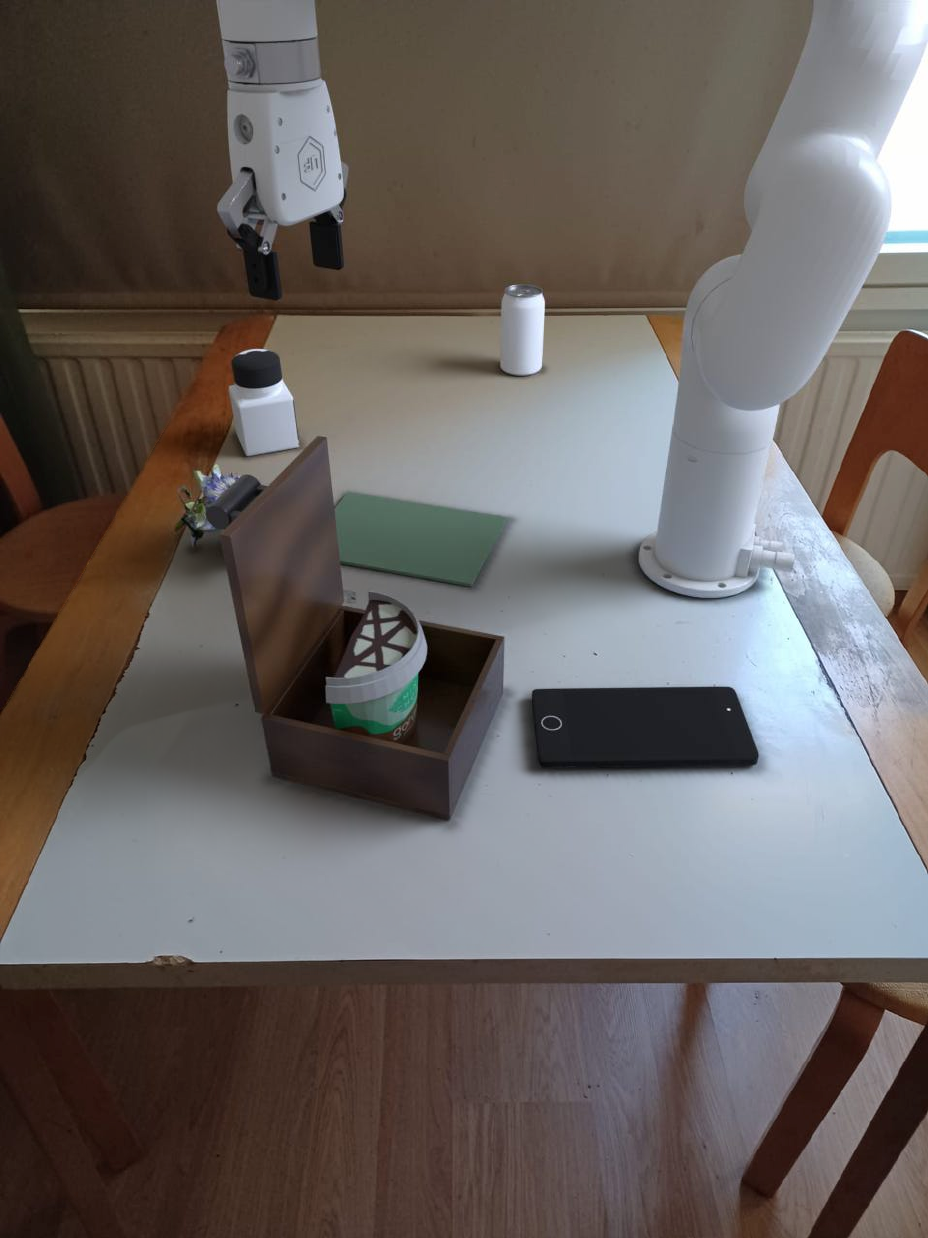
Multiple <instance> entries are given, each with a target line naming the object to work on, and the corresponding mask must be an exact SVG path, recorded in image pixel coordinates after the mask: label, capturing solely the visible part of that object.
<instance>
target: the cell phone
mask: <svg viewBox="0 0 928 1238" xmlns="http://www.w3.org/2000/svg"><path fill="white" fill-rule="evenodd" d="M531 710H532V718H533V719H532V720H533V729H534V738H535V747H536V748H535V749H536V757H537V763H538V765H539V767H540V768H542V769H551V768H617V767H619V768H620V767H621V768H622V767H626V768H627V767H691V766H692V767H694V766H695V767H697V766H698V767H699V766H701V767H702V766H705V767H706V766H755V765H757V764H758V761H759V756H760V755H759V751H758V748H757V745H756V742H755V740H754V737H753V733H752V732H751V729H750V725H749V723H748V721H747V718H746V715H745V713H744V709H743V707H742V704H741V702H740V699H739V696H738V694H737V692H736V690H735V689H734V688H733V687H731V686H650V687H648V686H647V687H643V686H642V687H637V686H636V687H570V688H569V687H567V688H566V687H563V688H562V687H561V688H560V687H559V688H557V687H556V688H535V689H532V692H531Z"/></svg>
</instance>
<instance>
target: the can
mask: <svg viewBox="0 0 928 1238" xmlns="http://www.w3.org/2000/svg"><path fill="white" fill-rule="evenodd" d="M545 301H546V300H545V297H544V295H543V288H541V287H540V286H537V285H534V284H524V283H522V284H513V285H509V286H506V287H505V288H504V293H503V296H502V298H501V305H500V344H499V345H500V346H499V350H500V353H499V356H500V357H499V367H500V369H501V370H502V371H503V372H504V373H506V374H507V375H511V376H516V377H528V376H533V375H535V374H537V373H539V372H540V371H541V369H542V367H543V354H544V353H543V352H544V334H545V333H544V330H545V312H546V311H545V309H546V302H545Z"/></svg>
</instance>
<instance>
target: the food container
mask: <svg viewBox="0 0 928 1238" xmlns="http://www.w3.org/2000/svg"><path fill="white" fill-rule="evenodd" d="M367 594H368V595H367V596H368V598H367V599H368V603H367V605H366V608H365V610H366V611H365V613H364V615H363V617H362V619H361V621H360V623H359V624H358V626H357V628H356V629H355V631H354V632H353V634H352V636H351V638H350V640H349V643H348V645H347V648H346V651H345V653H344V655H343V658H342V660H341V662H340V665H339V667H338V669H337V671H336V673H335V675H334V677H333V678H330V677H326V684H327V685H326V703H330V705H331V710H332V715H333V720H334V725H335V729H336V730H341V731H345V732H350V733H354V734H358V735H363V736H367V737H371V738H376V739H380V740H385V741H389V742H393V743H398V744H402V745H406V744H407V743H408V741H409V740H410V739H411V738H412V736H413V734H414V732H415V728H416V715H417V691H418V672H419V671H420V670H421V668H422V666H423V664H424V662H425V660H426V655H427V644H426V640H425V636H424V633H423V630H422V627H421V624H420V623H419V621H418V620H419V619H418V617H416V615H415V613H414V612H413V610H412V609H411V608H410V607H409V606H408V605H407V604H406V603H404V602H403V601H401V600H399V599H398V598H396V597H393V596H391V595H389V594H385V593H382V592H378V591H372V590H368V591H367Z"/></svg>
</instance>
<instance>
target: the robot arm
mask: <svg viewBox="0 0 928 1238" xmlns="http://www.w3.org/2000/svg"><path fill="white" fill-rule="evenodd" d="M215 1H216V8H217V14H218V15H217V16H218V21H219V28H220V35H221V39H222V40H221V42H222V43H221V45H222V49H223V57H224V61H223V65H224V69H225V71H226V77H227V82H228V89H227V95H226V97H227V99H226V101H227V103H226V107H227V108H226V109H227V111H226V112H227V115H226V116H227V137H228V150H229V151H228V153H229V161H230V162H229V163H230V171H231V178H232V184H231V185H230V186H229V188H228V189H227V190H226V192H225V193H224V194H223V196H222V197H221V199H220V200H219V201H218V203H217V206H216V211H217V213H218V215H219V217H220V219H221V221H222V222H223V224H224V226H225V228H226V233H227V235H228V236H229V237H230V239H231V240H232V241H233V242H235V244H236V248H237V250H238V251H240V252H242V254H243V260H244V266H245V273H246V280H247V281H246V282H247V286H248V293H249V295H250V296H251V297H252V298H259V299H264V300H270V301H276V302H277V301H279V300H281V299H282V298H283V289H282V282H281V281H282V280H281V276H280V266H279V258H278V254H277V251H272V246H273V244H274V240H275V237H276V234H277V230H278V228H279V226H284V227H289V226H293V225H296V224H299V223H302V222H305V221H307V220H310V219H313V220H311V221H309V222H308V224H309V236H310V237H309V238H310V246H311V256H312V264H313V265H314V266H315V267H317V268H321V269H329V270H334V271H340V270H343V269H344V268H345V259H344V247H343V236H342V225H341V224H342V223H343V222H344V219H345V214H344V211H343V208H344V205H345V202H346V199H347V190H346V189H347V182H348V178H349V170H350V169H349V165H348V164H347V163H345V162H344V161H342V160H341V154H340V153H341V152H340V146H339V138H338V133H337V126H336V125H337V124H336V121H335V115H334V111H333V106H332V101H331V97H330V93H329V90H328V87H327V84H326V80H324V79H322V69H321V68H322V67H321V56H320V47H319V44H320V43H319V37H318V36H319V34H318V25H317V23H318V22H317V13H316V1H315V0H215ZM927 45H928V0H813V7H812V17H811V22H810V27H809V30H808V33H807V37H806V41H805V43H804V46H803V49H802V52H801V55H800V57H799V60H798V63H797V66H796V67H795V71H794V73H793V76H792V79H791V81H790V83H789V86H788V88H787V91H786V93H785V96H784V97H783V100H782V102H781V104H780V107H779V109H778V111H777V114H776V116H775V118H774V120H773V122H772V125H771V128H770V129H769V132H768V134H767V136H766V139H765V141H764V143H763V145H762V147H761V149H760V152H759V153H758V156H757V158H756V160H755V161H754V164H753V165H752V168H751V170H750V173H749V175H748V177H747V181H746V183H745V187H744V192H743V208H744V214H745V219H746V221H747V222H748V226H749V228H750V230H751V233H750V234H749V238H748V240H747V242H746V245H745V247H744V250H743V252H742V253H741V254H740V253H739V254H736V255H731V256H728V257H725V258H723V259H721V260H719V261H717V262H715V263H714V264H713V265H711V266H710V267H709V268H708V269H707V270H705V272H704V273H703V274H702V275H701V276H700V277H699V279H698V280H697V282H696V283H695V285H694V286H693V289H692V290H691V292H690V295H689V297H688V300H687V303H686V307H685V312H684V316H683V317H684V318H683V325H682V336H681V337H682V338H681V351H680V365H679V373H678V374H679V375H678V385H677V392H676V399H675V400H676V401H675V407H674V413H673V420H672V427H671V433H670V440H669V446H668V453H667V461H666V468H665V474H664V480H663V488H662V493H661V502H660V508H659V515H658V516H659V517H658V523H657V528H656V529H657V530H656V531H655V532H653V533H652V534H649V535H648V536H647V537H646V538H645V539H644V540H643V541H642V543H641V544H640V547H639V552H638V563H639V567H640V569H641V570H642V572H643V573H644V574H645V575H646V577H648V578H649V579H650V580H651V581H652V582H654V583H655V584H656V585H658V586H660V587H662V588H664V589H665V590H668V591H671V592H674V593H676V594H679V595H683V596H687V597H693V598H701V599H719V598H726V597H727V598H728V597H731V596H734V595H737V594H740V593H742V592H745V591H746V590H748V589H749V588H751V587H752V586H753V585H754V584H755V582H757V579H758V577H759V574H760V570H761V568H766V569H771V570H774V571H779V572H786V573H792V572H793V567H794V562H795V557H796V556H795V553H792V552H784V551H782V550H783V544H784V542H783V541H778V540H766V539H761V536H758V535H755V534H756V527H757V524H756V522H755V521H756V516H757V511H758V508H759V507H758V506H759V503H760V499H761V498H760V497H761V493H762V488H763V485H764V479H765V475H766V471H767V467H768V461H769V457H770V453H771V448H772V445H773V444H772V443H773V440H774V438H775V437H774V436H775V432H776V428H777V427H776V426H777V422H778V418H779V412H780V407H781V404H783V403H784V402H786V401H787V400H789V399H790V398H792V397H793V396H794V395H796V394H797V393H798V392H799V391H800V390H801V389H802V388H803V387H804V386H805V385H806V384H807V382H808V381H810V379H811V377H812V376H813V375H814V373H815V372H816V371H817V369H818V367H819V366H820V364H821V362H822V360H823V359H824V357H825V355H826V354H827V352H828V350H829V348H830V346H831V344H832V343H833V341H834V339H835V338H836V335H837V334H838V332H839V330H840V329H841V327H842V325H843V322H844V321H845V319H846V317H847V315H848V313H849V312H850V310H851V308H852V306H853V304H854V302H855V300H856V299H857V297H858V295H859V294H860V291H861V289H862V287H863V285H864V284H865V282H866V280H867V279H868V276H869V275H870V272H871V271H872V268H873V266H874V265H875V263H876V261H877V259H878V256H879V255H880V253H881V250H882V248H883V246H884V242H885V239H886V236H887V233H888V229H889V226H890V221H891V215H892V206H893V205H892V202H893V201H892V191H891V186H890V183H889V180H888V177H887V175H886V173H885V170H884V169H883V167H882V166H881V164H880V163H879V161H878V158H879V156H880V154H881V152H882V149H883V146H884V144H885V142H886V140H887V138H888V136H889V134H890V132H891V129H892V127H893V125H894V123H895V121H896V119H897V116H898V115H899V112H900V109H901V107H902V105H903V103H904V100H905V98H906V96H907V94H908V91H909V89H910V87H911V85H912V83H913V81H914V78H915V76H916V74H917V72H918V70H919V67H920V64H921V62H922V59H923V57H924V54H925V51H926V49H927ZM257 225H258V226H262V228H261V231H260V233H258V232H257V231H256V228H257Z"/></svg>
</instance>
